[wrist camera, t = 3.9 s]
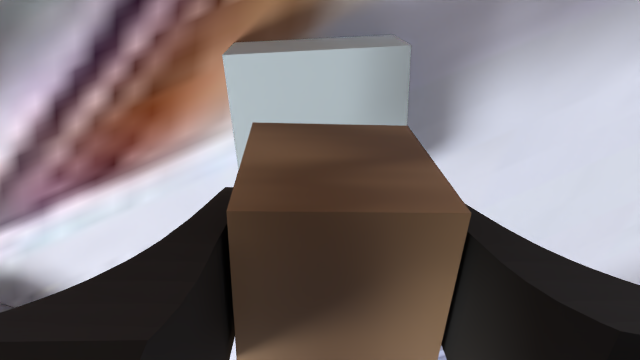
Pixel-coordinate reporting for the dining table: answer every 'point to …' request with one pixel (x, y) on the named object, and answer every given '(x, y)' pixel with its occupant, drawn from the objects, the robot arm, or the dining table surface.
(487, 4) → the dining table surface
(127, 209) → the dining table surface
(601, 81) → the dining table surface
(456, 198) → the walnut block
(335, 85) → the grey-blue block
